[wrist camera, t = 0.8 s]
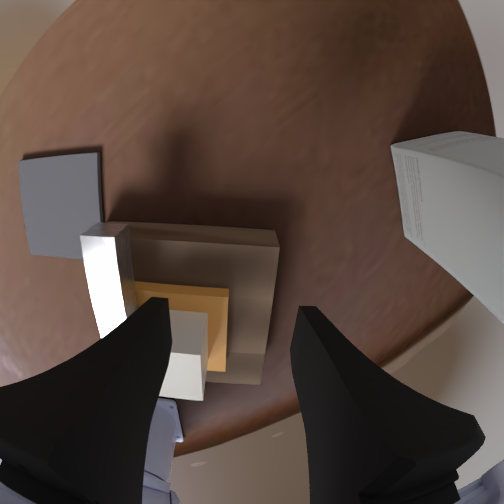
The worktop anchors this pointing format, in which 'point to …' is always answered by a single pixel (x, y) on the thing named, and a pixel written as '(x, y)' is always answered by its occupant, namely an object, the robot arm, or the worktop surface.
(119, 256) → the light grey long bar
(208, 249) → the socket block
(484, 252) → the supplement box
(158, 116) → the worktop surface
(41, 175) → the mat
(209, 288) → the plug
